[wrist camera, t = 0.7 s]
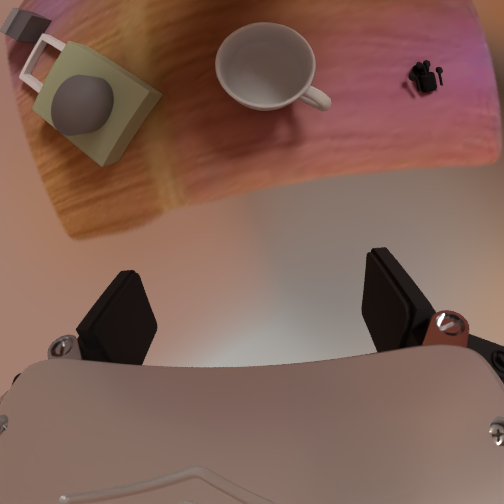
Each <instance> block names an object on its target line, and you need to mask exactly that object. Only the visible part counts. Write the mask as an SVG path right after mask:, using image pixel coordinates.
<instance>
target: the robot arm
mask: <svg viewBox="0 0 504 504" xmlns="http://www.w3.org/2000/svg"><path fill="white" fill-rule="evenodd" d="M362 315H363V318H364V321H365V323H366V325H367V327H368V330H369V332H370V335H371V337H372V340H373V342H374V345H375V347H376V350H377V352H376V353H371V354H365V355H359V356H352V357H346V358H339V359H331V360H323V361H314V362H305V363H294V364H282V365H268V366H252V367H251V366H250V367H214V368H198V367H196V368H193V367H163V366H144V365H142V364H143V361H144V359H145V356H146V354H147V352H148V349H149V347H150V345H151V342H152V340H153V338H154V336H155V334H156V331H157V322H156V319H155V317H154V314H153V312H152V309H151V306H150V304H149V301H148V298H147V296H146V293H145V290H144V287H143V284H142V281H141V278H140V276H139V275H138V273H136V272H135V271H134V270H127V271H121V272H120V273H119V274H118V275H117V276H116V278H115V279H114V280H113V281H112V282H111V284H110V285H109V286H108V287H107V289H106V290H105V291H104V293H103V294H102V295H101V296H100V298H99V299H98V300H97V302H96V303H95V304H94V305H93V307H92V308H91V309H90V311H89V312H88V314H87V315H86V316H85V318H84V319H83V320H82V322H81V323H80V324H79V326H78V327H77V328H76V331H77V333H78V334H79V337H78V338H76V337H75V336H73V335H65V336H61V337H60V338H58V339H56V340H55V341H54V342H53V343H52V344H51V345H50V347H49V349H48V360H44V361H40V362H37V363H34V364H32V365H30V366H28V367H27V368H26V369H25V370H24V371H23V372H22V373H20V374H18V375H17V376H16V377H15V378H14V381H13V383H12V386H11V388H10V389H9V390H8V391H7V392H6V393H5V394H4V395H3V396H1V397H0V504H504V346H501V345H498V344H496V343H493V342H490V341H487V340H485V339H482V338H479V337H476V336H473V335H471V334H469V324H468V322H467V320H466V319H465V318H464V317H463V316H462V315H460V314H459V313H456V312H454V311H448V310H445V311H440V312H437V313H436V312H435V310H434V309H433V307H432V305H431V304H430V302H429V301H428V300H427V298H426V297H425V296H424V294H423V293H422V292H421V291H420V289H419V288H418V286H417V285H416V284H415V282H414V281H413V280H412V279H411V277H410V276H409V275H408V274H407V273H406V271H405V270H404V269H403V268H402V266H401V265H400V264H399V262H398V261H397V260H396V259H395V258H394V256H393V255H392V254H391V253H390V252H389V250H388V249H387V248H385V247H383V248H373V249H372V250H371V252H368V253H367V257H366V270H365V281H364V291H363V300H362Z"/></svg>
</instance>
